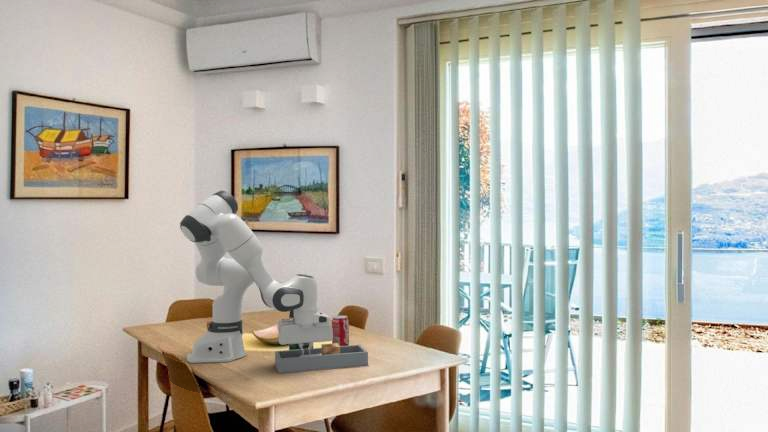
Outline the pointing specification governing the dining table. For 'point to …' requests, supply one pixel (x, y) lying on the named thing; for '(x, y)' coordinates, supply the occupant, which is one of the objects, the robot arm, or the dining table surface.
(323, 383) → the dining table surface
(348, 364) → the box
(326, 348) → the block
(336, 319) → the soda can
